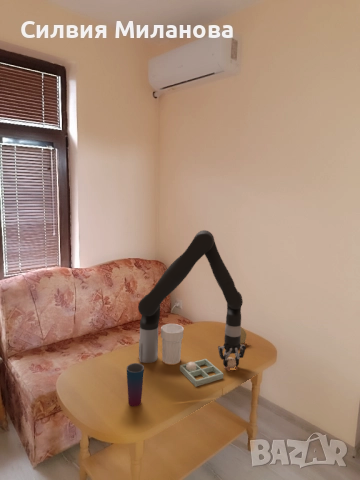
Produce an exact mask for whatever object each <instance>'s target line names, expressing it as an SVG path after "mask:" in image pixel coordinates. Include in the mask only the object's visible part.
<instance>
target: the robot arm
mask: <svg viewBox="0 0 360 480" xmlns="http://www.w3.org/2000/svg"><path fill="white" fill-rule="evenodd" d="M203 256H205V258H206V259H207V261H208V263H209V266H210V269H211V272H212V274H213V276H214V278H215V281H216V283H217V284H218V286H219V288H220V290H221V292H222V294H223V296H224V299H225V302H226V317H225V327H224V344H223V345H222V346H221V345H218V346H217V348H218V349H217V350H218V354H219V358H220V359H221V360H223V361H222V364H223V367H224V366H225V367H227V359H228V358H229V357H230V355H232V354H234V359H235V360H236V366H237V367H238V366H239V365H240V359H242V358H244V356H245V352H246V349H247V346H246V345H245V344H244V343H242V344H240V339H241V327H242V313H241V311H242V305H243V303H244V302H243V295H242V294H241V293H240V292H239V290H238V289H237V288H236V285H235V281H234V279H233V278H232V276H231V274H230V271H229V270H228V267H227V266H226V265H225V262H224V260H223V259H222V257H221V255H220V252H219V249H218V247H217V244H216V241H215V237H214V235H213V233H211V232H210V231H209V230H205V229H204V230H200V231H198V232H197V233H196V234H195V236H194V237H193V239H192V241H191V243H189V245H188V247H187V248H186V249H185V251H184V252H183V253H182V254H181V255H179V257H177V258H176V259H175V260H174V261H172V263H171V264H170V265H169V266H168V268H167V269H166V270H165V271H164V272H163V274H162V275H161V277H160V278H159V279H158V281H157V283H156V284H155V285H154V287H152V290H150V291H149V292H148V294H147V293H146V295H144V296H143V297H142V298H141V299H140V300H139V302H138V312H139V313H140V315H141V318H140V320H139V321H140V322H139V339H138V359H139V362H140V363H144V364H146V363H147V364H149V363H155V362H156V361H157V360H158V355H159V323H160V318H161V317H160V316H161V315H160V314H161V313H160V312H161V304H162V303H163V302H164V300H165V299H166V298H167V297H168V296H169V295H170V294H172V292H174V290H176V289H177V288H178V287H179V285H180V284H181V283H182V282H183V281H184V280H185V279H186V278H187V276H188V275H189V273H191V271H192V269H193V268H194V266H195V265H196V263H197V262H198V261H199V260H200V259H202V257H203ZM223 352H224V353H223Z"/></svg>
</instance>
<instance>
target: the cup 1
mask: <svg viewBox="0 0 360 480" xmlns="http://www.w3.org/2000/svg"><path fill="white" fill-rule="evenodd" d="M144 372H145V366H144V365H143V364H142V363H137V362H135V363H130V364H128V365H127V366H126V380H127V382H126V383H127V385H126V386H127V400H128V401H127V402H128V405H129V406H131V407H137V406H140V405H141V404H142V398H143V397H142V396H143V395H142V394H143V385H144V383H143V382H144Z"/></svg>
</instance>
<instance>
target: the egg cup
mask: <svg viewBox="0 0 360 480" xmlns="http://www.w3.org/2000/svg"><path fill="white" fill-rule="evenodd" d="M223 368H224V369H225V370H226V371H229V372H231V371H230V368H229V367H228V366H227V367H225V366H224V365H223ZM235 369H237V370H238V366H237V367H235Z"/></svg>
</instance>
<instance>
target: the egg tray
mask: <svg viewBox="0 0 360 480" xmlns="http://www.w3.org/2000/svg"><path fill="white" fill-rule="evenodd" d="M193 362H194V363H195V364H196V366H197V369H196V370H195V371H192V372H188V371H187V370H186V365H187V363H184V364H180V365H179V371H180V372H181V373H182V374H183V375H184V377H186V378H187V380H189V381H190V382H191V384H192V385H194V386H195V387H200V386H202V385H206V384H209V383H213V382H215V381H218V380H223V379H224V373H223V371H221V370H220V369H219V368H218V367H217V366H215V365H214V364H213V363H212V362H211V361H209V359H207V358H203V359H200V360H199V359H198V360H196V361H193ZM204 365H205V366H206V367H203V368H201V366H204ZM212 372H213V373H214V374H213V375H209V374H208V373H212ZM200 375H201V377H202V378H199V379H196V377H198V376H200Z"/></svg>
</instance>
